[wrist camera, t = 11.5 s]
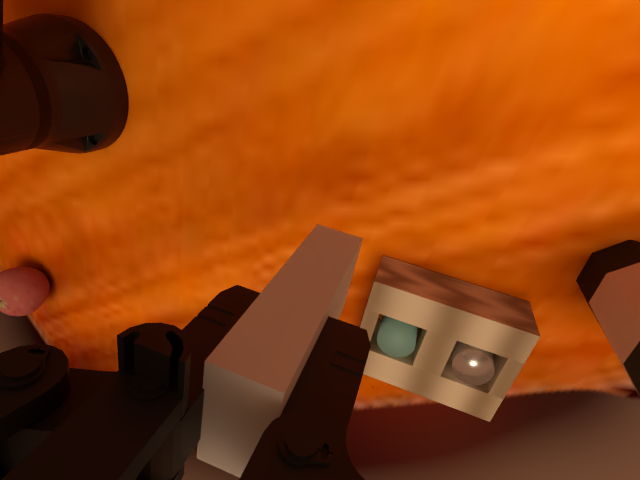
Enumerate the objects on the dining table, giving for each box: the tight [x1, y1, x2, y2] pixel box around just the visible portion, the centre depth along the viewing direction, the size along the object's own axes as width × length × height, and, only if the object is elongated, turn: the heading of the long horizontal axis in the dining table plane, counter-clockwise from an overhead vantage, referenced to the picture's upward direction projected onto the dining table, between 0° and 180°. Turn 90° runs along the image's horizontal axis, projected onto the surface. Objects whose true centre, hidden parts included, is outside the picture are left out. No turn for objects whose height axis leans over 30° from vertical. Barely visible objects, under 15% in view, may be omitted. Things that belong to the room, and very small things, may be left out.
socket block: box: [360, 255, 540, 422], centre depth 43 cm, size 16×12×6 cm
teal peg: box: [377, 315, 418, 357], centre depth 44 cm, size 4×4×6 cm
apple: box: [0, 267, 50, 316], centre depth 61 cm, size 7×7×8 cm
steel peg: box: [452, 341, 495, 385], centre depth 42 cm, size 4×4×6 cm
